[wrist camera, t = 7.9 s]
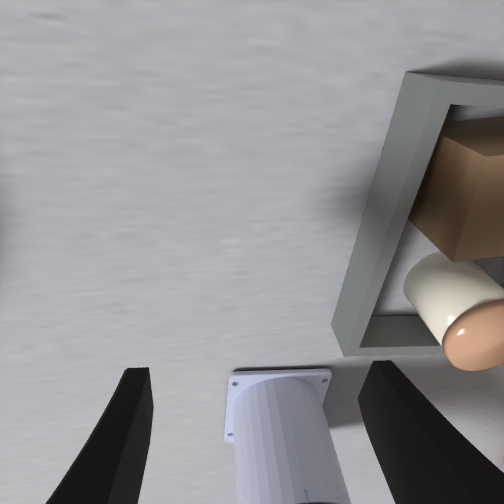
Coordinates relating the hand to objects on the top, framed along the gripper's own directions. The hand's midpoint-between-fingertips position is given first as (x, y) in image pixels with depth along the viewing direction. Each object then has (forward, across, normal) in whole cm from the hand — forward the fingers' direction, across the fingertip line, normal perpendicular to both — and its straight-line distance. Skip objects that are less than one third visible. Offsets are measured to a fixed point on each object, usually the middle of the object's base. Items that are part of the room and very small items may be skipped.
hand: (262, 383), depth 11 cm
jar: (+10, -14, +3) cm, 17 cm away
